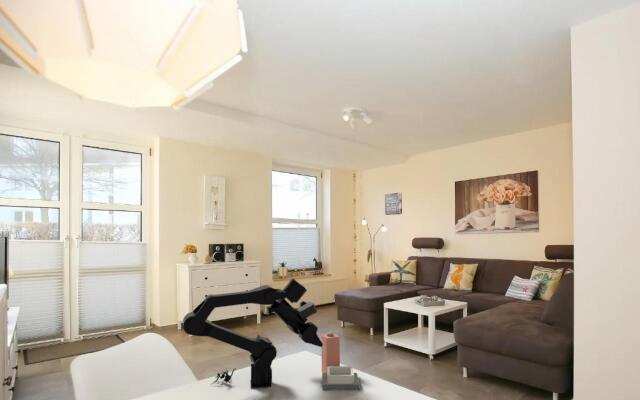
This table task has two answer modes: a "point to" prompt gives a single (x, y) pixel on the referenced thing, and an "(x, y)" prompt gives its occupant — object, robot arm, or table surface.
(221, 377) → the creature
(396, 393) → the table surface
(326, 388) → the grey socket base
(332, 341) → the pink square bar
